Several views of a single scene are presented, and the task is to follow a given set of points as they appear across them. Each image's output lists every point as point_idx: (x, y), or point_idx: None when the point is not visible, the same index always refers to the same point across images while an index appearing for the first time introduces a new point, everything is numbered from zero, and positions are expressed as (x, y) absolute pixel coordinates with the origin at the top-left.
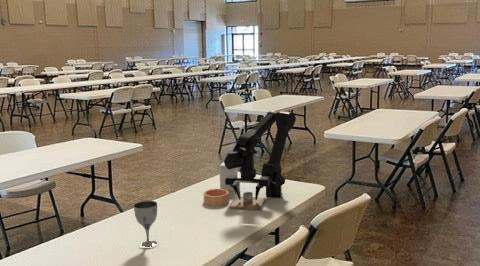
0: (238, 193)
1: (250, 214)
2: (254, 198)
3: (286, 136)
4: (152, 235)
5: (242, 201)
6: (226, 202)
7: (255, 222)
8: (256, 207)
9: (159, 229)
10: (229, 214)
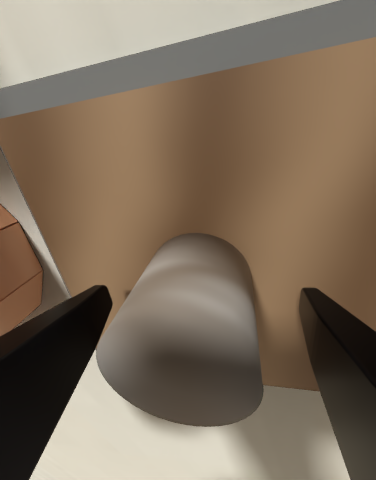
0: (62, 409)
1: (272, 404)
2: (244, 135)
3: None
4: (42, 475)
5: (138, 271)
6: (28, 287)
7: (321, 472)
8: (317, 384)
9: None
10: None
